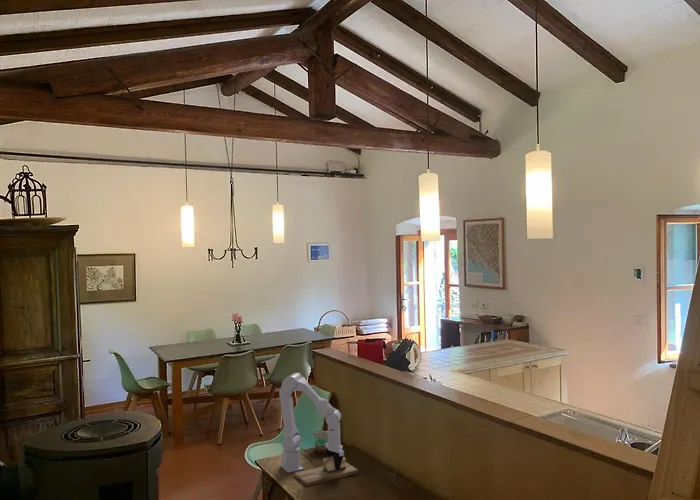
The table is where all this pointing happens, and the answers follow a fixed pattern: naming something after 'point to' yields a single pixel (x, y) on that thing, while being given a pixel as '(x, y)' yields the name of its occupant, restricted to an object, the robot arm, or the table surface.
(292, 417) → the robot arm
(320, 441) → the food container
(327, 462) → the block
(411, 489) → the table surface
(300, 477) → the walnut board
